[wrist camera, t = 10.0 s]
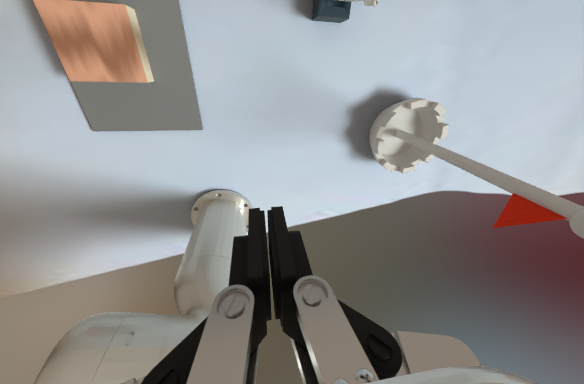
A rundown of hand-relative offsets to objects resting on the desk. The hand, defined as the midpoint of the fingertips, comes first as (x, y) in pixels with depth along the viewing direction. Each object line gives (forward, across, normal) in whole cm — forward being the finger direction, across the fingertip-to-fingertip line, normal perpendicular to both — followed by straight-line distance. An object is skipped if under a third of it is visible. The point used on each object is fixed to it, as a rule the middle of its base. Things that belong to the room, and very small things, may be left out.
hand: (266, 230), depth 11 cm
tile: (+27, +14, -9) cm, 32 cm away
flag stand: (+29, -27, +3) cm, 40 cm away
